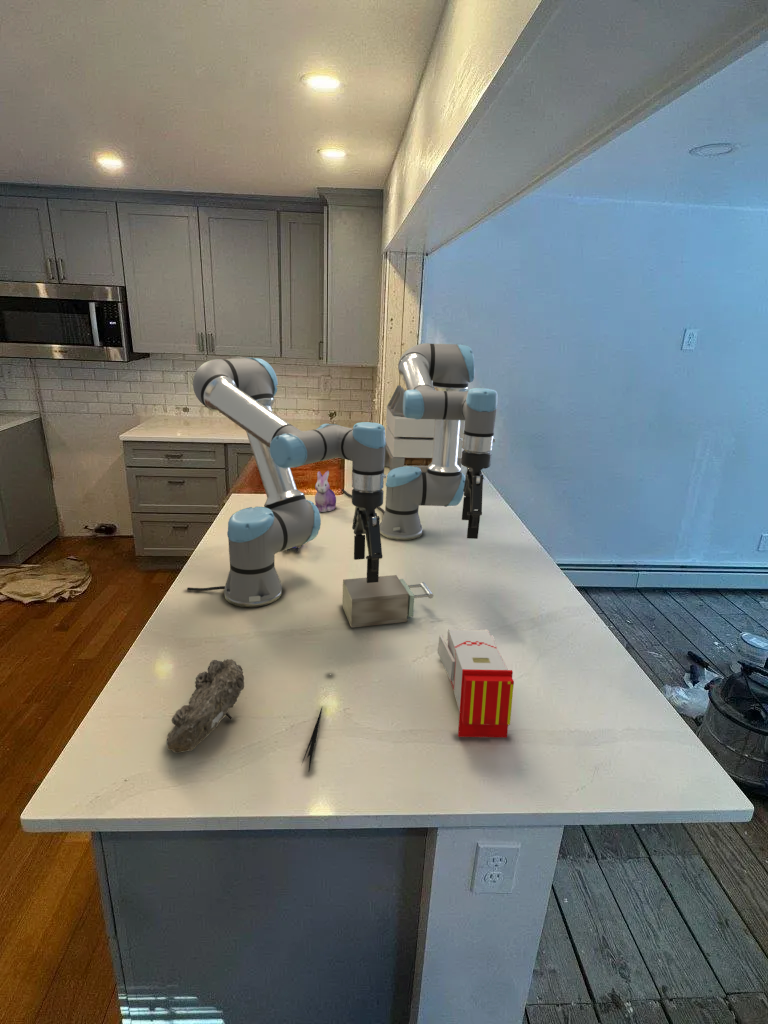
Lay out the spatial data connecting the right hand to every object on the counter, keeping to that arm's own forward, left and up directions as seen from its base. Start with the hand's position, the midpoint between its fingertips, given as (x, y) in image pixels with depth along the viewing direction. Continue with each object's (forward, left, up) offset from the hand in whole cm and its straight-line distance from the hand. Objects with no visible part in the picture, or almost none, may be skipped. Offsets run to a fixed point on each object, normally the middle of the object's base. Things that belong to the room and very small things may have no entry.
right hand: (469, 528), depth 151 cm
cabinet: (-7, -26, -20) cm, 34 cm away
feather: (+17, -60, -20) cm, 66 cm away
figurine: (-81, +10, -20) cm, 84 cm away
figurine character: (-57, -19, -20) cm, 63 cm away
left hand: (-8, -29, -7) cm, 31 cm away
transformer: (-97, +77, -20) cm, 126 cm away
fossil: (+4, -76, -20) cm, 78 cm away
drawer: (-5, -21, -19) cm, 29 cm away
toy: (+29, -30, -20) cm, 47 cm away
